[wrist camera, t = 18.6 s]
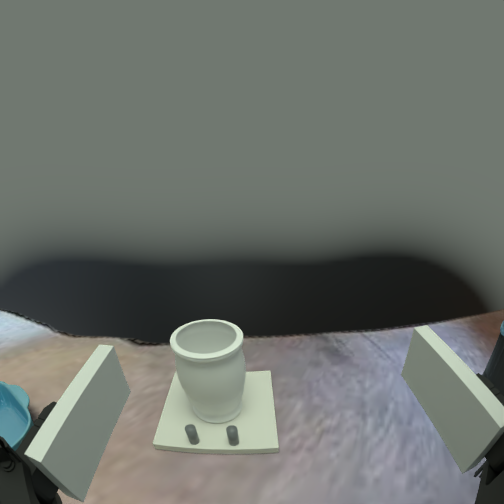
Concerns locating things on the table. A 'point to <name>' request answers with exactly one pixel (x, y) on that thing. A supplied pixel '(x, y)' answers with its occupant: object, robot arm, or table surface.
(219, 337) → the jar
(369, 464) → the table surface
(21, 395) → the casserole dish
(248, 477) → the table surface
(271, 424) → the tray
